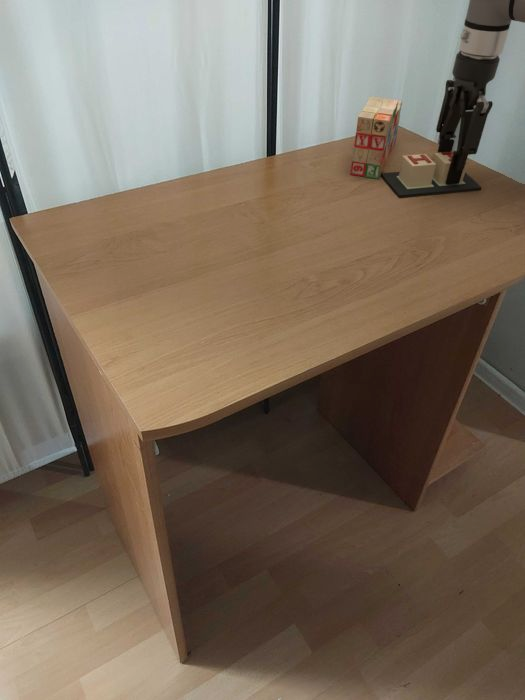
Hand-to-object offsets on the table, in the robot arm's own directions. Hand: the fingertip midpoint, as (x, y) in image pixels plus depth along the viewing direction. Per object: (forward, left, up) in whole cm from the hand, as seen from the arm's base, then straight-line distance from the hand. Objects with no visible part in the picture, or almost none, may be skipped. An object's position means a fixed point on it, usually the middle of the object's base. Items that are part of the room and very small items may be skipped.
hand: (445, 176), depth 112 cm
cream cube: (0, +7, 0) cm, 7 cm away
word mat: (0, +3, -1) cm, 4 cm away
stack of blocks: (+14, +10, -1) cm, 17 cm away
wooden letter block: (0, 0, 0) cm, 0 cm away
